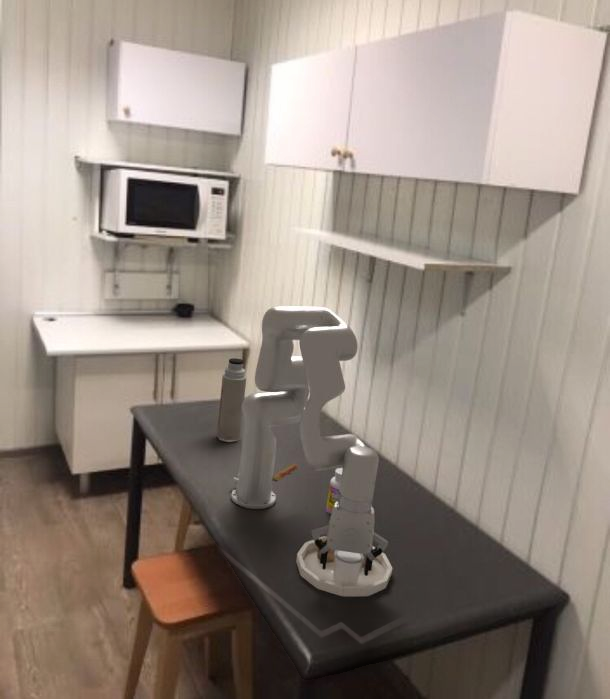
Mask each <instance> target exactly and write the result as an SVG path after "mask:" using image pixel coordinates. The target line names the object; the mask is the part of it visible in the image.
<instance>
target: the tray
mask: <svg viewBox="0 0 610 699" xmlns="http://www.w3.org/2000/svg"><path fill="white" fill-rule="evenodd" d="M322 537H323V536H321V537H320V536H319V538H320V539H321V538H322ZM372 547H373V549H375V548H376V547H375V546H373V545H372ZM317 553H318V547H317V546H316V545H315V542H314V540H313V539H312V540H308V541H305V542H304V544H303V545H302V546H301V547H300V549H299V550H298V552H297V554H296V560H295V561H296V565H297V569H298V572H299V575H300V577H302V578H303V579H304V580H306V581H307V582H308V583H309V584H311V585H312V586H313V587H314V588H316V589H317V590H321V591H324V592H327V593H330V594H333V595H336V596H340V597H354V598H355V597H370V596H372V595H374V594H377V593H378V592H381V591H383V590H385V589H387V587H388V584H389V581H390V580H391V576H392V573H393V566H392V565H391V562H390V560H389V559H388V557H387V555H386V553H384V552H382V554H380V555H379V556H377V557H376V558H375V559H374V560H373V562H372V569H371V571H368V576H365V575H364V567H362V568H361V572H360V575H359V579H358V583H357V586H343V585H339V584H336V583H334V582H333V569H334V562H326V569H325V570H323V569H322V567H323V564H320V559H319V558H318V557H317Z"/></svg>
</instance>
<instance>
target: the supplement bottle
mask: <svg viewBox="0 0 610 699" xmlns="http://www.w3.org/2000/svg"><path fill="white" fill-rule="evenodd" d="M342 470H343V468H338V469H334V475H335V476H333V477H332V478H331V479H330V480H329V481H330V482H329V487H328V495H327V501H326V508H325V510H326V512H327V513H328V514H330V515H331V514H332V510H333V507H334V505H335V503H336V502H337V500H335V499H332V494H333V493H335V494H336V493H338V492H339V490H340V484H341V477H342Z"/></svg>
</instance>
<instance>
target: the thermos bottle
mask: <svg viewBox="0 0 610 699" xmlns="http://www.w3.org/2000/svg"><path fill="white" fill-rule="evenodd" d="M244 362H245V361H244V360H243V359H241V358H238V357H237V358H235V357H233V358H229V359H228V365H227V367H225V370H224V373H223V374H222V379H221V389H220V401H219V411H218V421H217V422H218V423H217V431H216V432H217V433H216V437H217V436H218V437H219V438H221V439H224V440H238V439H239V438H240V439H241V437H242V436H241V434H242V428H243V416H242V404H243V401H244V399H245V398H246V396H245V395H246V387H247V386H246V384H247V376H246V369H244Z"/></svg>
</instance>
